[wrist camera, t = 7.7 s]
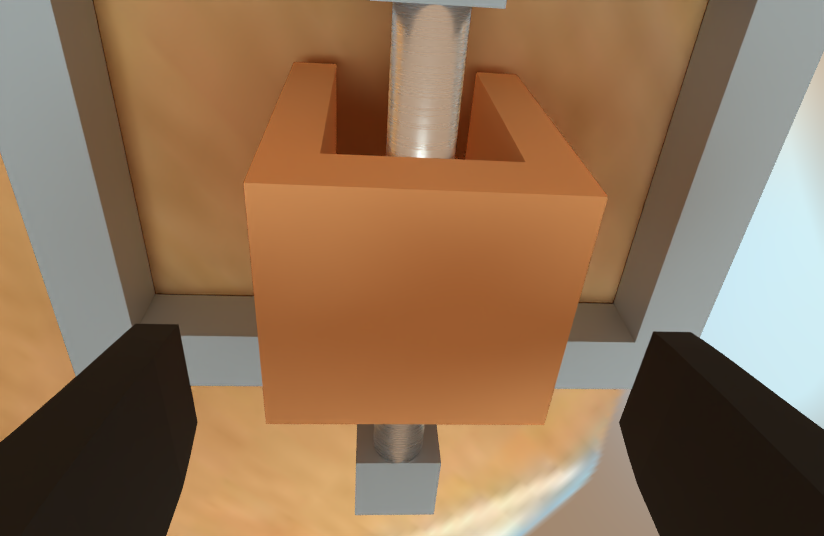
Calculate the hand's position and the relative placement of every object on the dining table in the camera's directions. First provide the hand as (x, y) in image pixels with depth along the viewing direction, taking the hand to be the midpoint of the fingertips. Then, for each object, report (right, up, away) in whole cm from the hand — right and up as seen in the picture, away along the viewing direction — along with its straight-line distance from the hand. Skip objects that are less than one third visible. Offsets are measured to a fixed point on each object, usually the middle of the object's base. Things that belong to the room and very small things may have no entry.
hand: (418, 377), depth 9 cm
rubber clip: (0, +4, +6) cm, 8 cm away
